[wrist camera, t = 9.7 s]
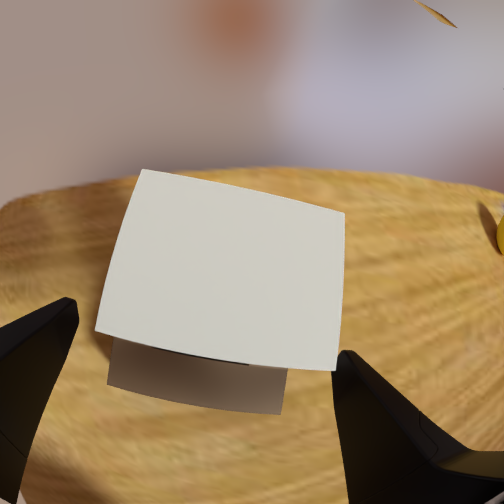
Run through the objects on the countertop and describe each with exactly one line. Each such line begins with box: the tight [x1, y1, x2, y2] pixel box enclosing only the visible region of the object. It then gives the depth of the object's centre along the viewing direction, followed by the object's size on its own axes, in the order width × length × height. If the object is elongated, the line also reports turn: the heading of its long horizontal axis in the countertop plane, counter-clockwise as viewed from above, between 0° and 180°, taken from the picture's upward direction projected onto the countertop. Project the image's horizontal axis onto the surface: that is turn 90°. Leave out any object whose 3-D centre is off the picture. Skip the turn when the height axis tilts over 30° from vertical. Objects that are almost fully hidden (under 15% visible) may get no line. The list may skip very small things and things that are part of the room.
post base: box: [107, 336, 288, 415], centre depth 16 cm, size 10×10×4 cm
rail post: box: [95, 169, 345, 371], centre depth 11 cm, size 3×4×14 cm
